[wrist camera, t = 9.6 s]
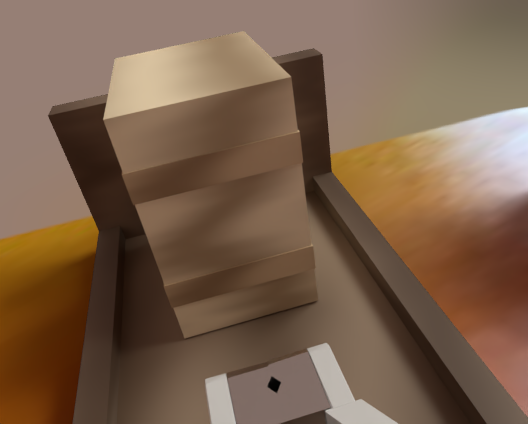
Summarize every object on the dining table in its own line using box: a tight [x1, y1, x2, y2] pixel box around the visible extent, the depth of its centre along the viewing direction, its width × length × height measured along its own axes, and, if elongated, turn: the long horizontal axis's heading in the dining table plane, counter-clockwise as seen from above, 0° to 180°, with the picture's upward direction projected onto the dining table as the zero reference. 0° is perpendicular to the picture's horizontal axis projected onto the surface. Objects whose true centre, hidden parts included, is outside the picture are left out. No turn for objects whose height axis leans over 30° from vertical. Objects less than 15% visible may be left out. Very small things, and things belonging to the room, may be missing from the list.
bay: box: [48, 49, 528, 424], centre depth 16 cm, size 14×24×9 cm, turn 13°
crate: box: [103, 31, 318, 338], centre depth 20 cm, size 6×8×10 cm
